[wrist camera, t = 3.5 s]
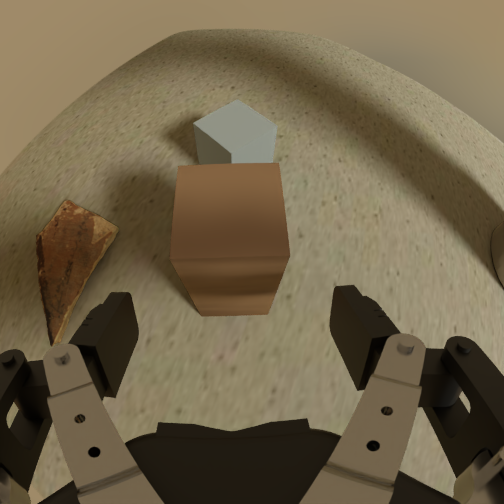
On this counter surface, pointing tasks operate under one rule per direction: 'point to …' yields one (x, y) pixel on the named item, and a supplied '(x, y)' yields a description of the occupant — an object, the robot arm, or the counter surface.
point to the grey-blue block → (234, 136)
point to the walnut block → (230, 236)
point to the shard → (69, 261)
